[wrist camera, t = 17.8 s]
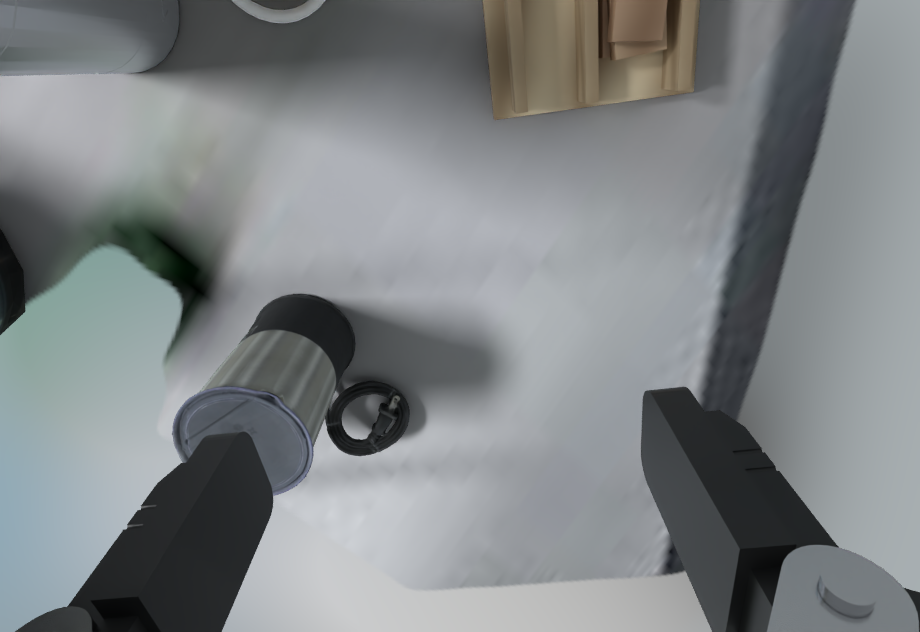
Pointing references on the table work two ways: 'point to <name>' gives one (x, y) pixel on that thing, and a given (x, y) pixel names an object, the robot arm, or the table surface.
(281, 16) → the hamburger
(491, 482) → the table surface
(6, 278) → the beer stein
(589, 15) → the pine rack
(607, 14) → the offcut stack
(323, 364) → the milk frother
